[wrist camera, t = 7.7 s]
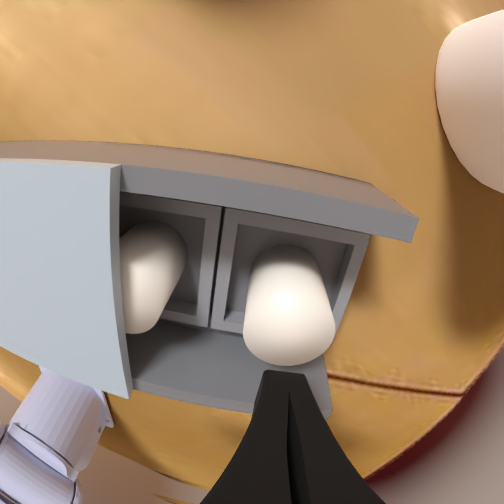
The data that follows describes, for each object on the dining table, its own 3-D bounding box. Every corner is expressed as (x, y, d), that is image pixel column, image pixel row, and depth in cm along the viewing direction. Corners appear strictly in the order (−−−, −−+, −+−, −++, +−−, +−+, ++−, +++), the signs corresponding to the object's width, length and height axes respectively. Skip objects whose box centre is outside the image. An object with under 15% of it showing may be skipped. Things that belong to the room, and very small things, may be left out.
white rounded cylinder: (309, 310, 18) (319, 369, 14) (244, 299, 18) (236, 359, 14) (328, 252, 16) (348, 303, 12) (256, 238, 16) (251, 287, 12)
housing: (316, 349, 21) (326, 420, 15) (12, 280, 20) (-31, 318, 15) (369, 183, 16) (418, 218, 10) (-2, 142, 15) (-63, 159, 10)
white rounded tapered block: (185, 288, 18) (160, 342, 13) (125, 275, 18) (88, 322, 13) (190, 225, 16) (160, 267, 12) (124, 215, 16) (78, 250, 12)
